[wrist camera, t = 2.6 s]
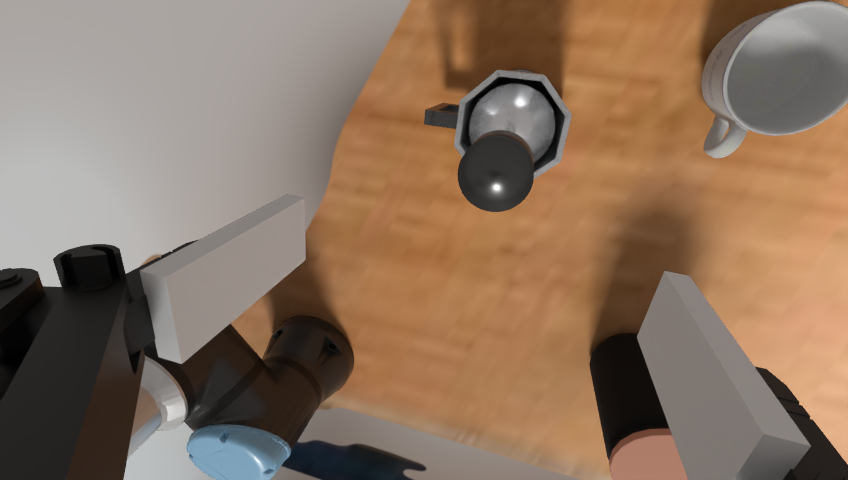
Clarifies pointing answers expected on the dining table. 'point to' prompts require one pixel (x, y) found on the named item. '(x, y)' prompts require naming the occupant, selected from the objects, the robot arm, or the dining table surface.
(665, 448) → the coffee jar
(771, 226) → the dining table surface
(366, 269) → the dining table surface
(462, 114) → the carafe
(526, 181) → the plunger
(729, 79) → the teacup
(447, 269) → the dining table surface
